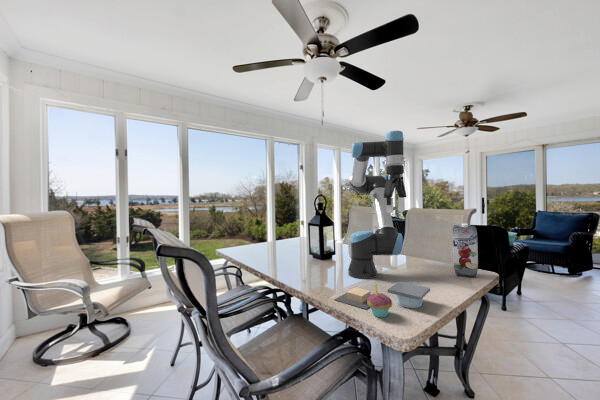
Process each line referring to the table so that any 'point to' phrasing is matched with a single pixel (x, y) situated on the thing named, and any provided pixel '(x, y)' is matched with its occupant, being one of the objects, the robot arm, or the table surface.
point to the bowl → (408, 302)
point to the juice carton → (465, 250)
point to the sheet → (409, 290)
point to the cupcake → (379, 303)
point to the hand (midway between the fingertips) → (395, 212)
